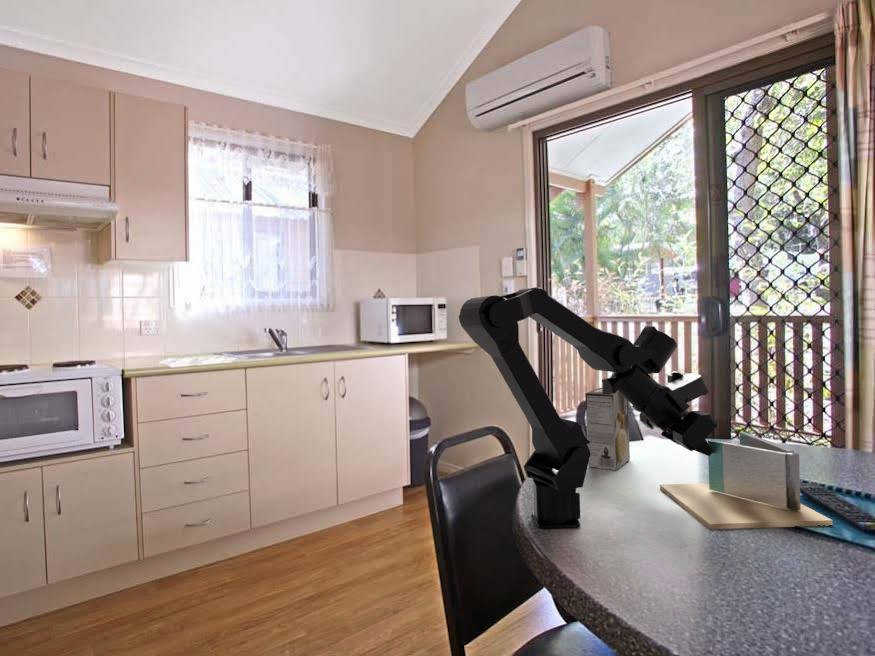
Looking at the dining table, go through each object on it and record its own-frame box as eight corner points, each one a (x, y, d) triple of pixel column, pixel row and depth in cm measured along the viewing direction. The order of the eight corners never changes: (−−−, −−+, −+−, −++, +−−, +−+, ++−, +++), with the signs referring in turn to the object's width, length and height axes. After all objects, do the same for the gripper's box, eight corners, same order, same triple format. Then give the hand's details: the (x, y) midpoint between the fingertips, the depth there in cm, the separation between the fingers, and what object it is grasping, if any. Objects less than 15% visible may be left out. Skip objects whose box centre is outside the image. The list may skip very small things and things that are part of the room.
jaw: (796, 511, 78) (795, 456, 78) (709, 489, 89) (707, 440, 89) (802, 508, 79) (801, 453, 79) (716, 486, 91) (714, 438, 90)
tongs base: (710, 529, 76) (708, 464, 76) (658, 487, 95) (656, 435, 95) (832, 525, 76) (830, 460, 75) (755, 484, 95) (754, 431, 94)
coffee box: (602, 456, 117) (599, 386, 116) (630, 460, 113) (628, 388, 113) (587, 466, 109) (584, 392, 109) (617, 471, 106) (614, 394, 105)
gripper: (702, 363, 79) (777, 431, 79) (653, 354, 97) (713, 409, 97) (653, 416, 79) (727, 484, 79) (614, 397, 98) (674, 452, 98)
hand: (710, 453), depth 88 cm, fingers closed
